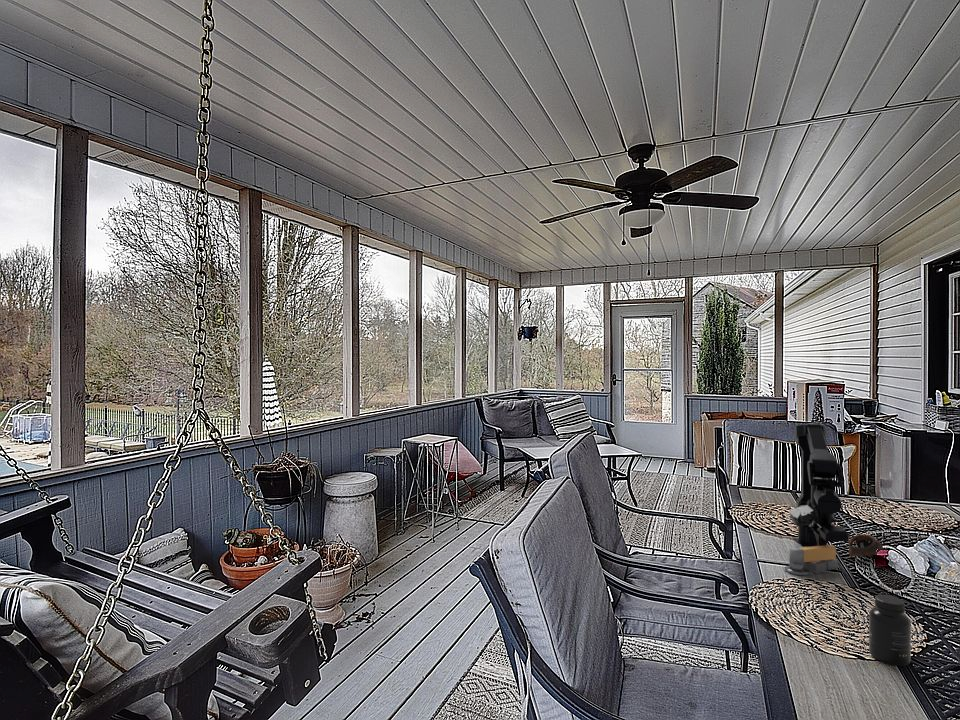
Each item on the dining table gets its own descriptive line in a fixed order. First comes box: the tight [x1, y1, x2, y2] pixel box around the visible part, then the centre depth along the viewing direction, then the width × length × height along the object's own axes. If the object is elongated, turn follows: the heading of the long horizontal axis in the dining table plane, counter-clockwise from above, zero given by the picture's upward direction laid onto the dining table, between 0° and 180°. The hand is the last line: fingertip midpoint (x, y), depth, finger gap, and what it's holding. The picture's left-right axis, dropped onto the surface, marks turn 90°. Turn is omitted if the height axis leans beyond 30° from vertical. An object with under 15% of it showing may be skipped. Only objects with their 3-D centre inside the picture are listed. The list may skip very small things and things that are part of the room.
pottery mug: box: [848, 533, 884, 559], centre depth 167 cm, size 12×9×8 cm
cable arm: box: [788, 544, 837, 564], centre depth 158 cm, size 15×4×4 cm, turn 104°
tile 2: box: [821, 558, 839, 571], centre depth 162 cm, size 7×5×3 cm
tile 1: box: [804, 560, 828, 574], centre depth 159 cm, size 7×5×3 cm
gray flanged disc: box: [784, 561, 810, 577], centre depth 156 cm, size 6×6×3 cm
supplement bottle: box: [868, 594, 912, 667], centre depth 111 cm, size 7×7×12 cm
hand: (821, 549), depth 161 cm, fingers closed
